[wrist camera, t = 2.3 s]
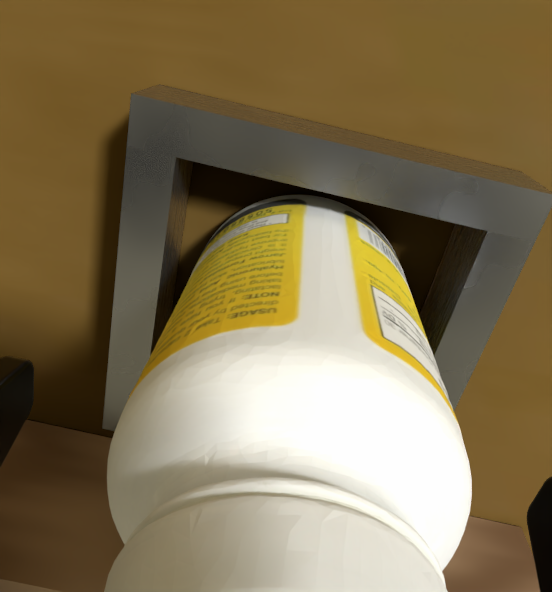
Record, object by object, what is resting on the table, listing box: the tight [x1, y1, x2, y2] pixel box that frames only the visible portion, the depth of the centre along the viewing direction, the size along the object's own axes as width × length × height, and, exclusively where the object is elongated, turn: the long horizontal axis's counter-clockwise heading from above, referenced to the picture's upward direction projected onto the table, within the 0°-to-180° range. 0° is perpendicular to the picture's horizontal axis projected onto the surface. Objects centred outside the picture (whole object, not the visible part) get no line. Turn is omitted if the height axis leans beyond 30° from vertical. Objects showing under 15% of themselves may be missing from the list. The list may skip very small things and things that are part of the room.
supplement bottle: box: [104, 195, 472, 592], centre depth 10 cm, size 5×5×10 cm
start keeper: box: [102, 85, 552, 431], centre depth 13 cm, size 8×8×2 cm
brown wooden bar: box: [0, 420, 540, 592], centre depth 15 cm, size 18×2×5 cm, turn 78°
